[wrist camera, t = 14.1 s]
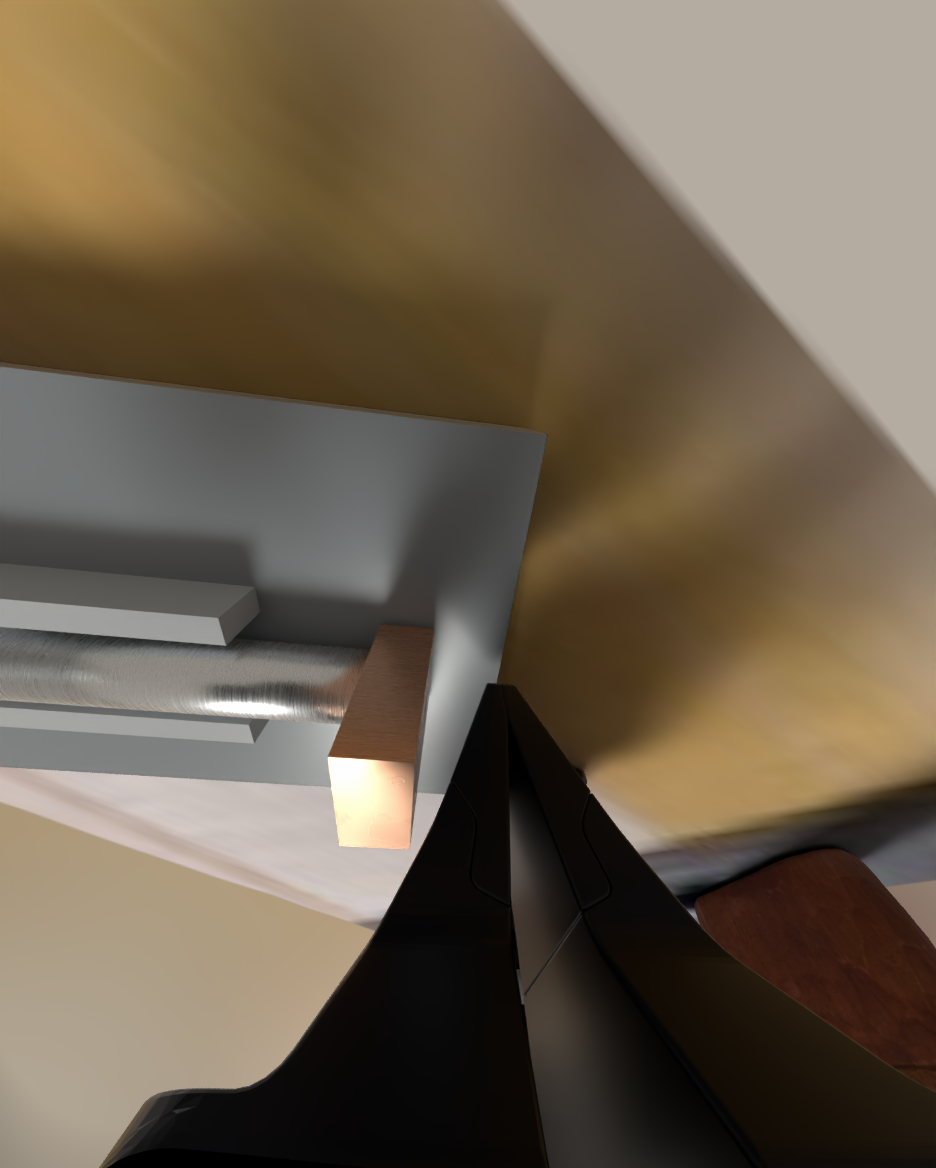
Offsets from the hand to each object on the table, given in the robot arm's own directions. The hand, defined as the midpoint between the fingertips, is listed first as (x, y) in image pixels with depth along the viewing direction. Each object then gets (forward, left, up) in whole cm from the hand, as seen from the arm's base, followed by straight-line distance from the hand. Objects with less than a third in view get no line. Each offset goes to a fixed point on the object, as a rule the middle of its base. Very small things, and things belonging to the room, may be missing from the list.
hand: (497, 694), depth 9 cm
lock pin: (0, +8, -1) cm, 8 cm away
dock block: (0, +13, -4) cm, 14 cm away
